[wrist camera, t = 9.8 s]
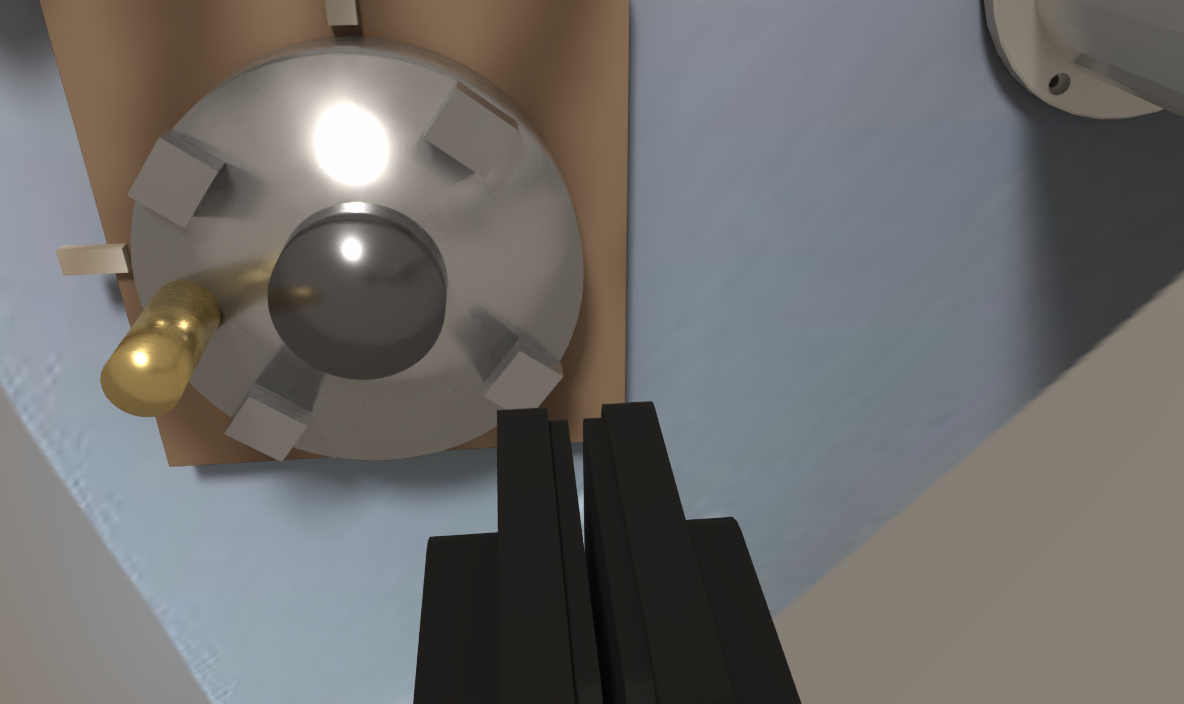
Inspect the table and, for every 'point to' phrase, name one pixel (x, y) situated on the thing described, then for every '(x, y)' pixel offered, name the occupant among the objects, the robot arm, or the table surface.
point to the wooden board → (364, 9)
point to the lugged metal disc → (351, 255)
